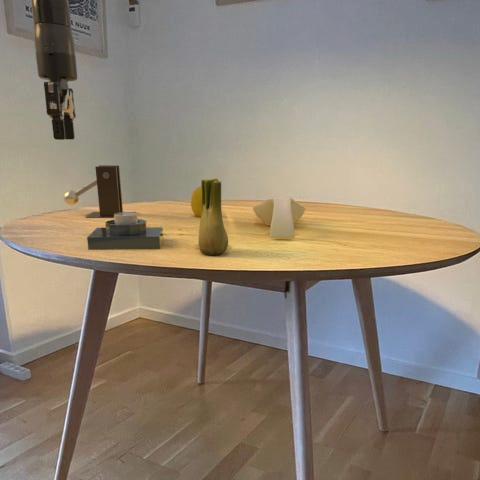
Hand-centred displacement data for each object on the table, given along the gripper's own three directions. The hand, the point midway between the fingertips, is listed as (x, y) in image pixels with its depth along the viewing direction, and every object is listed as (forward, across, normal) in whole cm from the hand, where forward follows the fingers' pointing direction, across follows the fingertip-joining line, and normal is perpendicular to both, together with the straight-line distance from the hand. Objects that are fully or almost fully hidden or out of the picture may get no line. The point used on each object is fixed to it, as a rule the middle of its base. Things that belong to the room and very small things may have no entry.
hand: (64, 139), depth 100 cm
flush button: (+14, +26, +15) cm, 33 cm away
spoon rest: (+17, +12, +45) cm, 50 cm away
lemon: (+17, +1, +29) cm, 34 cm away
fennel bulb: (+17, +34, +30) cm, 48 cm away
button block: (+17, +26, +15) cm, 34 cm away
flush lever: (+11, -1, +5) cm, 12 cm away
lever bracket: (+17, -1, +8) cm, 19 cm away
